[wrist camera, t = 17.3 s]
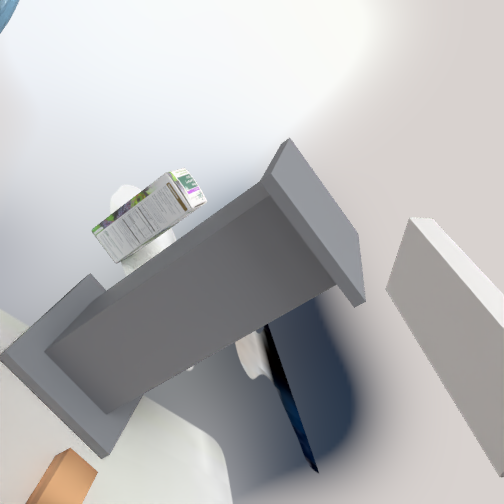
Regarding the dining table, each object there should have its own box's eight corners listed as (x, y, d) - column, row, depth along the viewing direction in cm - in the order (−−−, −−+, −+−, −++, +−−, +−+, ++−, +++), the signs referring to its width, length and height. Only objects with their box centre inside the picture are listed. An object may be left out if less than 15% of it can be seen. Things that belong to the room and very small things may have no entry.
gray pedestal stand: (101, 458, 45) (373, 318, 34) (-3, 357, 42) (260, 165, 31) (158, 359, 60) (363, 237, 48) (84, 278, 57) (284, 127, 45)
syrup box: (112, 221, 67) (184, 164, 62) (136, 254, 68) (209, 200, 63) (89, 230, 62) (166, 169, 57) (116, 266, 63) (194, 208, 57)
